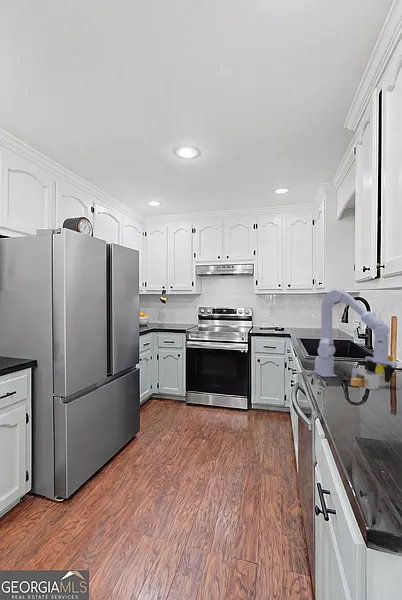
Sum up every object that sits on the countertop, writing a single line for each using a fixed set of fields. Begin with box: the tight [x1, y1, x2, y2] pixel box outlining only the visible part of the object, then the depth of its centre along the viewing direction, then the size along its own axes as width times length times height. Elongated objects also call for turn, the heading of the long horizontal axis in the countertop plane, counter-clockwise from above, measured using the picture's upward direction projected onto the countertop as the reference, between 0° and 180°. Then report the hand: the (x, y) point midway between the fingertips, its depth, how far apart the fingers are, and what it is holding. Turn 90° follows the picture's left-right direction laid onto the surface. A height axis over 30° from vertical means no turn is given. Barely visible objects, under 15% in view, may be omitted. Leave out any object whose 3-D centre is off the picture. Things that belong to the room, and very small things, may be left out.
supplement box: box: [375, 354, 394, 379], centre depth 158 cm, size 6×6×11 cm
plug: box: [350, 374, 387, 387], centre depth 141 cm, size 4×17×4 cm, turn 101°
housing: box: [351, 367, 380, 390], centre depth 141 cm, size 12×5×6 cm, turn 10°
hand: (379, 379), depth 142 cm, fingers open, 7 cm apart
